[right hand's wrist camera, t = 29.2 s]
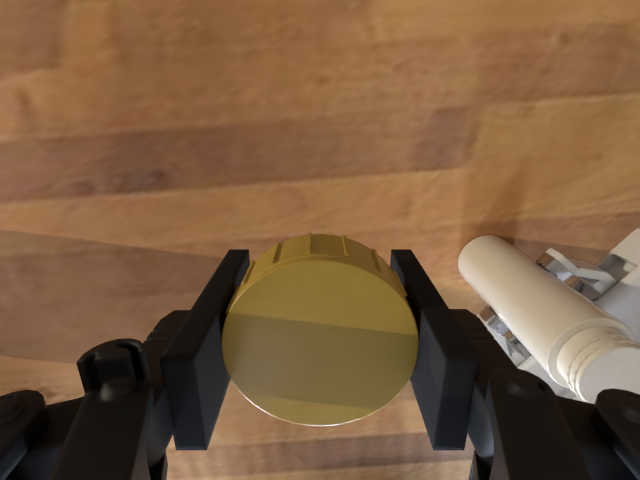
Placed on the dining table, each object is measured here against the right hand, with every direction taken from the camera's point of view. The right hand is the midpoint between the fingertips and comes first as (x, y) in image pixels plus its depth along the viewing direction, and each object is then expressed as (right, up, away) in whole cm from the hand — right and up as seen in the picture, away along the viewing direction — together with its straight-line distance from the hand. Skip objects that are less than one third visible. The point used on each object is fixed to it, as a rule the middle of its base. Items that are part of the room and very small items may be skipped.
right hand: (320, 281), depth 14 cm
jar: (+15, 0, +19) cm, 25 cm away
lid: (0, -1, -4) cm, 4 cm away
